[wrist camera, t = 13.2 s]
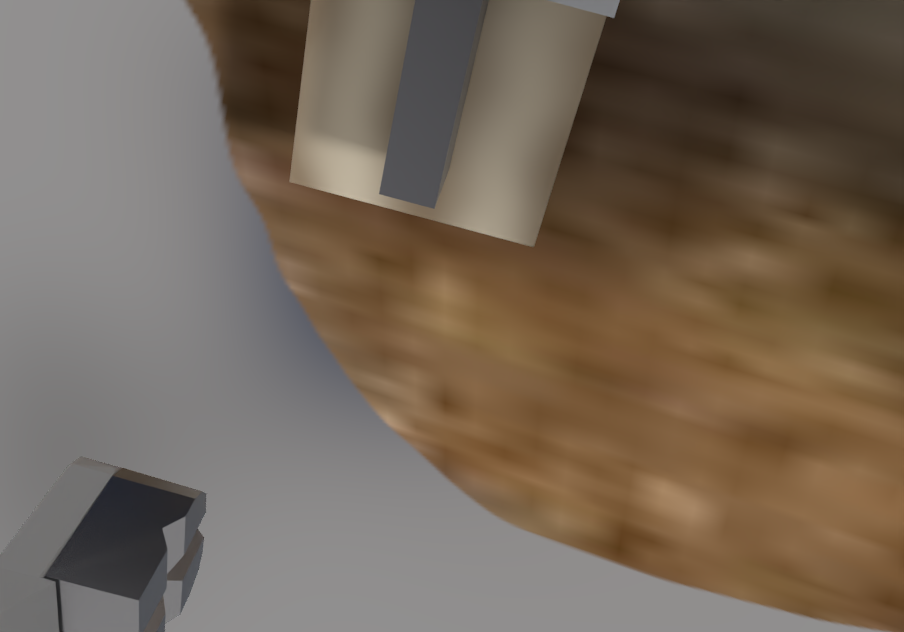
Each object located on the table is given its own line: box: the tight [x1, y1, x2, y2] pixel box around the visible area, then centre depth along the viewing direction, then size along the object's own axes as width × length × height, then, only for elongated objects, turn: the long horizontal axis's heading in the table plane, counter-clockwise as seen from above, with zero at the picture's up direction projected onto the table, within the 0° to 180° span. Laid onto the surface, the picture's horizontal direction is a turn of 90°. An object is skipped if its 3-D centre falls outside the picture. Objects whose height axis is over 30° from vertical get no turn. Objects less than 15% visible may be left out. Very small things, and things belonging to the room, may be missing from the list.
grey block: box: [379, 0, 620, 209], centre depth 34 cm, size 12×10×4 cm
